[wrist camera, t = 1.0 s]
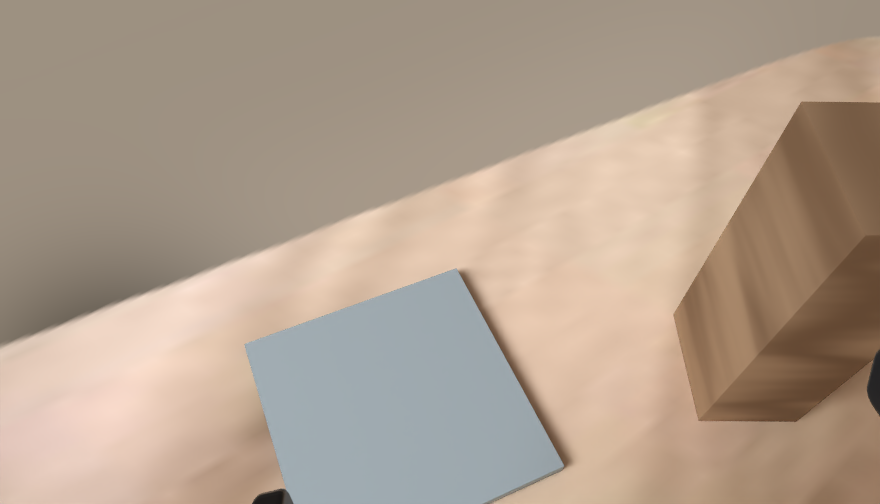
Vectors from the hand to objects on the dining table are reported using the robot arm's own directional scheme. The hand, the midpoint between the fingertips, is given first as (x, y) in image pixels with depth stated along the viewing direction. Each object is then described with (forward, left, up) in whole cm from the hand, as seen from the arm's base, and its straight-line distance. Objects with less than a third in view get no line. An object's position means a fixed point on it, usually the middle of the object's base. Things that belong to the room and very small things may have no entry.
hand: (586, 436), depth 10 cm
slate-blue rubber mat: (+8, +1, -16) cm, 18 cm away
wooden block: (+4, -13, -16) cm, 21 cm away
